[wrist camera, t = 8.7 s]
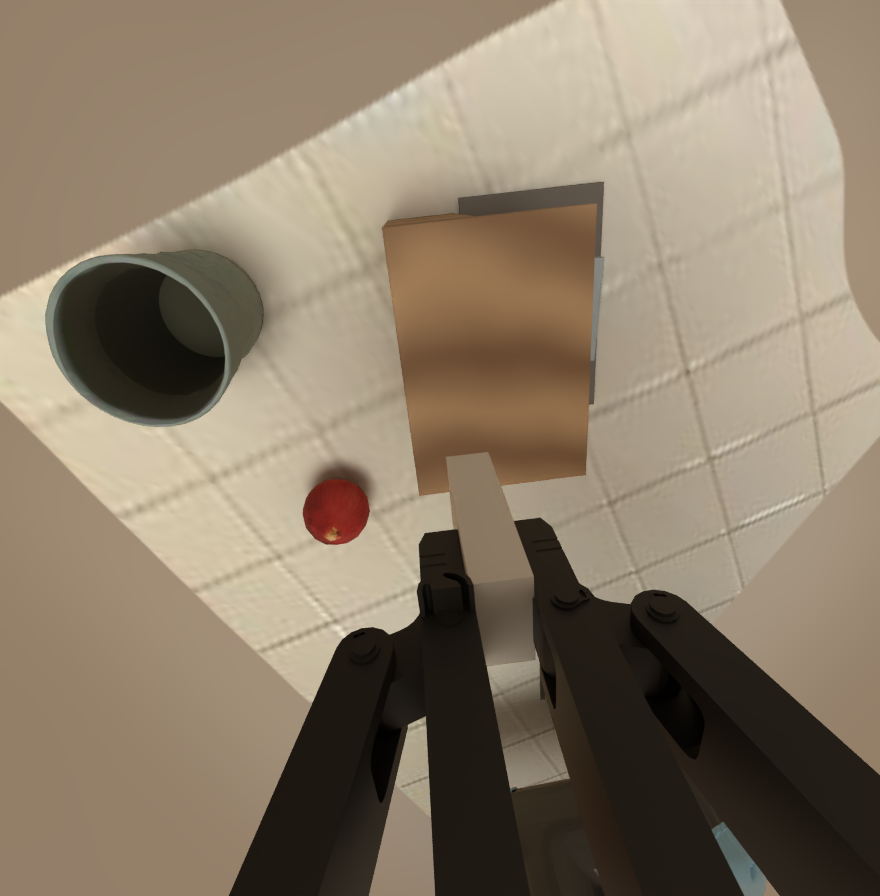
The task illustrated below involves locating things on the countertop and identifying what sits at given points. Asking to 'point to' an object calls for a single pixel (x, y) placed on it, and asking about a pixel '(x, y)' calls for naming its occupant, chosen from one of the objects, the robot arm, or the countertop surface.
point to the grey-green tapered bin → (153, 332)
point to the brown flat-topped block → (495, 339)
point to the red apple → (336, 511)
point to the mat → (541, 201)
